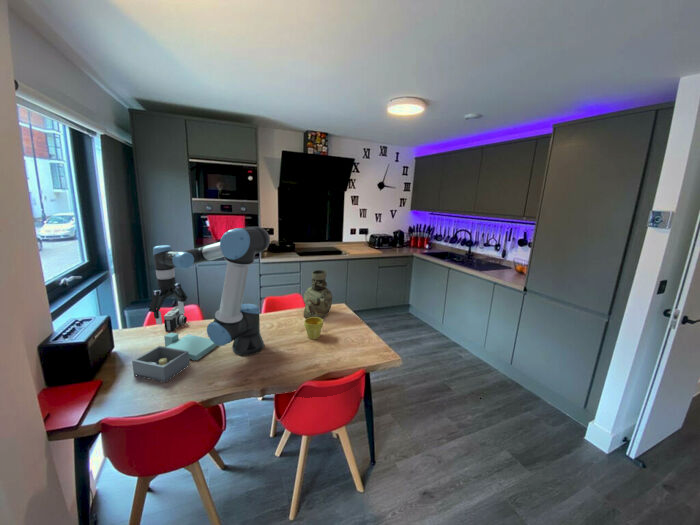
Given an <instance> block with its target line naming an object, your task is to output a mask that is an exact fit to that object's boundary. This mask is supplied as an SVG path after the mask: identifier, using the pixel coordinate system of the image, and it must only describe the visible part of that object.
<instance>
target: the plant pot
mask: <svg viewBox="0 0 700 525" xmlns="http://www.w3.org/2000/svg"><path fill="white" fill-rule="evenodd" d="M303 326H304V328H305V331H306V334H307V338H308V339H310V340H317V339H319V338H320V336H321V332H322V328H323V327H324V319H321V318H318V317H310V318H307V319H306V318H305V319H304V325H303Z"/></svg>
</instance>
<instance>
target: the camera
mask: <svg viewBox="0 0 700 525" xmlns="http://www.w3.org/2000/svg"><path fill="white" fill-rule="evenodd" d="M187 319H188V318H187V316H185V314H180V313H179V306H178V305H177V306H174V307H173V308H171V310H169V311H167V313H165V315H163V321H164V322H163V323H164V324H163V325H164V330H165V332H174V331H175V330H177V329H178V328H179V326H182V325H185V323H187Z"/></svg>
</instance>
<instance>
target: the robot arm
mask: <svg viewBox="0 0 700 525" xmlns="http://www.w3.org/2000/svg"><path fill="white" fill-rule="evenodd" d="M270 241H271V237H270V235H269V233H268V231H267V230H266V229H265V228H263V227H261V226H248V227H247V226H246V227H236V228H233V229H229V230H227V231H226V232H224V233H223V235H222V236H221V238H220V241H219V242H215V243H211V244H207V245H203V246H201V247H196V248H190V249H185V250H179V251H178V250H177V251H176V250H173V248H172V246H171V245H169V244H168V245H167V244H165V245H164V244H163V245H162V244H161V245H156V246H154V247H153V249H152V251H153V254H152V256H153V262H154V267H155V274H156V278H157V279H156V283H157V287H158V288H159V289H158V290H153V291H152V299H151V302H150V304H149V308H148V312H150V313H153V317H154V319H155V322H156V325H159V326H160V325H161V326H162V325H163V320H162V311H160V310H161V308H162V305H163V303H164V302H165V300H166V299H167V298H168V297H170V296H173V297H174V298H175V299H177V300H178V301H177V303H178V305H177V306H179V313H180V314H183V315H185V313H186V312H185V306H186V304H185V302H186V301H187V299H188V296H187V295H186V293H185V291H184V290H183V288H182V286H181V285H182V284H181V283H177V281H176V275H175V274H176V273H175V268H178V269H190V268H191V266H194V265H197V264H203V263H207V262H210V261H214V260H217V259H221V258H223V259H224V260H225V262H226V269H225V274H224V275H225V276H224V282H223V288H222V293H221V298H220V299H221V300H220V305H219V309H218V310H217V311H215V313H214V319H213V321H211V322H210V323H209V324H208V325H207V326H206V334H207V336H208V339H211V341H212V342H213V343H215V344H216V345H218V346H221V347H222V346H226V345H228V344H230V343H232V342H233V343H232V345H231V346H232V348H231V349H232V353H233V354H235V355H236V356H237V355H238V356H242V357H243V356H244V357H245V356H251V355H255V354H257V353H260V352H261V351H262V350H263V349H264V347H265V344H264V343H265V341H264V339H263V337H262V335H261V330H260V320H261V319H260V307H259V306H258V305H257V304H252V303H243V300H244V294H245V288H246V282H247V278H248V272H249V268H250V266H251V265H252V264H254V262H255V256H256V254H259V253H262V252H265V250H266V249H267V248H269V246H270Z"/></svg>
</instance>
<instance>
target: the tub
mask: <svg viewBox="0 0 700 525" xmlns="http://www.w3.org/2000/svg"><path fill="white" fill-rule="evenodd" d="M131 362H132V363H131V364H132V371H133V372H132V373H133V376H134V375H137V376H136V377H138V376H140V377H139V378H142V377H145V378H144V379H147V378H150V379H149V380H151V379H154V380H153V381H155V380H157V381H156V382H160V381H162V382H161V383H164V382H165V383H167V382H168V381H170V380H171V379H172V377H173V376H174V375H175V376H176V374H177V373H178V374H179V372H180V371H181V370H182V371H184V370H185V369H187V368H188V367H190V366H189V365H191V364H190V359H189V353H188V351H183V350H178V349H173V348H168V347H165V346H161V345H158V346H156V347H155V348H153V349H151V350H149V351H147V352H145V353H143V354H142V355H139V356H138V357H136V358H135V359H132V360H131ZM187 366H188V367H187ZM186 367H187V368H186ZM184 368H185V369H184ZM183 369H184V370H183ZM182 371H181V372H182ZM181 372H180V373H181ZM178 374H177V375H178ZM175 376H174V377H175ZM174 377H173V378H174ZM170 378H171V379H170ZM169 379H170V380H169ZM167 380H168V381H167ZM166 381H167V382H166Z"/></svg>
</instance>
